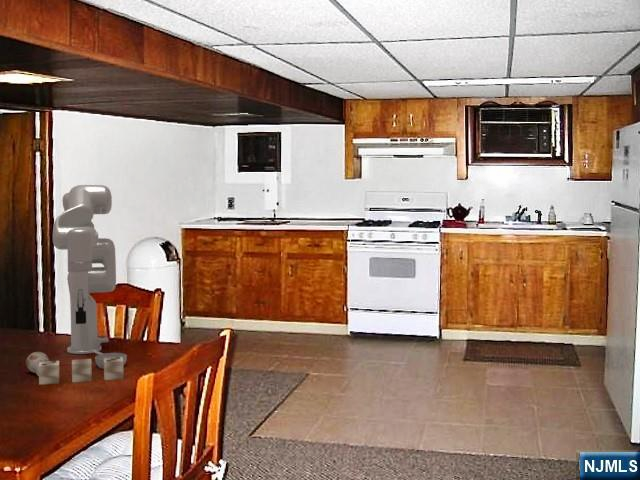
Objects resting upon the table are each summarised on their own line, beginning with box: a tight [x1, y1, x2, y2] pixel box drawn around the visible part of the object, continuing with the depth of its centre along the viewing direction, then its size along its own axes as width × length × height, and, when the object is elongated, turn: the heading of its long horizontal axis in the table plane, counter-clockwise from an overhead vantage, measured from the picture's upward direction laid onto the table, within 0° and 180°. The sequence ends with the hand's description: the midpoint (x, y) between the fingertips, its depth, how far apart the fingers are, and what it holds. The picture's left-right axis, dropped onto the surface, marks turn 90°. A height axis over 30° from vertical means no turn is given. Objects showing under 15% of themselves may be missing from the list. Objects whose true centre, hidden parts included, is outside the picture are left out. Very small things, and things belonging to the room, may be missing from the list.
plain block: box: [71, 358, 93, 383], centre depth 250 cm, size 6×6×6 cm
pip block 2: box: [103, 357, 125, 381], centre depth 252 cm, size 6×6×6 cm
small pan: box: [91, 350, 128, 370], centre depth 270 cm, size 11×18×4 cm, turn 47°
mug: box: [25, 351, 50, 377], centre depth 256 cm, size 8×10×10 cm
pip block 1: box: [38, 360, 60, 386], centre depth 247 cm, size 6×6×6 cm
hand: (81, 323), depth 248 cm, fingers closed
